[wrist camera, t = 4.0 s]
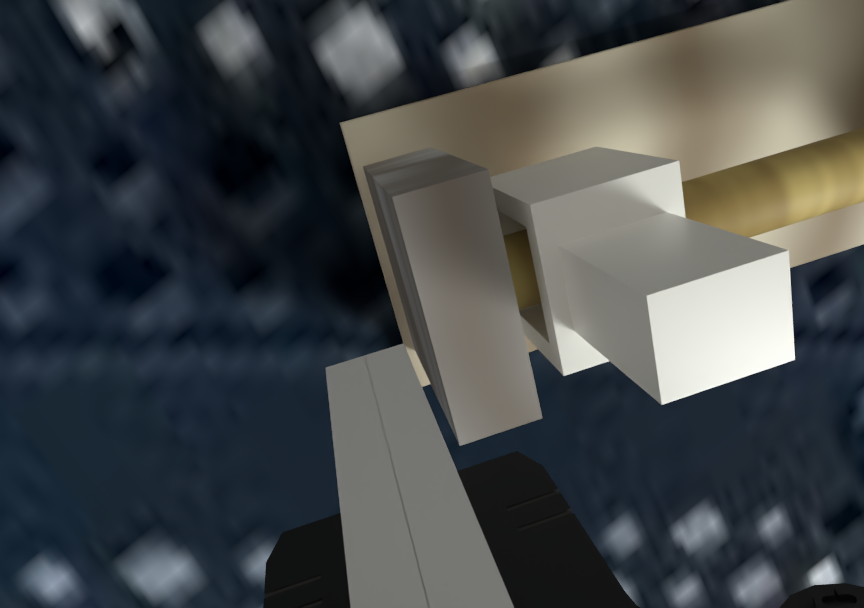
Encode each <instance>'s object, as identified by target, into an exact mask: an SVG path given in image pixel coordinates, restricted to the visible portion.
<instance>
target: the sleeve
mask: <svg viewBox="0 0 864 608" xmlns="http://www.w3.org/2000/svg"><path fill="white" fill-rule="evenodd" d="M490 178H491V183H492V188H493V192H494V197H495V202H496V206H497V211H498V215H499V220H500V225H501V229H502V234H503V236H504V235H508V234H511V233H514V232H518V231H521V230H524V229H527V234H528V239H529V244H530V249H531V254H532V259H533V264H534V269H535V274H536V279H537V283H538V288H539V293H540V298H541V303H540V304H537V305H534V306H531V307H528V308H525V309H521V310H519V312H520V317H521V322H522V326H523V331H524V335H525V336H526V337H527V338H528V339H529V340H530V341H531V342H532V343H533V344H534V345H535V346H536V347H537V348H538V350H539V351H540V352H541V353H542V354H543V355H544V356H545V357H546V358H547V359H548V360H549V361H550V362H551V363H552V364H553V365H554V366H555V367H556V368H557V369H558V370H559V371H560V372H561V373H562V375H563V376H565V375H568V374H571V373H574V372H577V371H581V370H584V369H587V368H590V367H593V366H596V365H599V364H602V363H605V362H608V361H610V362H611V363H613V364H614V365H615V366H616V367H617V368H619V369H620V370H621V371H622V372H623V373H625V374H626V375H627V376H628V377H629V378H630V379H632V380H633V381H634V382H635V383H636V384H638V385H639V386H640V387H641V388H642V389H643V390H645V391H646V392H647V393H648V394H649V395H651V396H652V397H653V398H654V399H655V400H657V401H658V402H659V403H660V404H661V405H663V404H666V403H669V402H672V401H675V400H678V399H681V398H684V397H687V396H690V395H692V394H695V393H698V392H701V391H704V390H707V389H710V388H713V387H716V386H719V385H722V384H725V383H728V382H731V381H734V380H737V379H740V378H742V377H745V376H748V375H751V374H754V373H757V372H760V371H763V370H766V369H769V368H772V367H775V366H778V365H781V364H784V363H787V362H789V361H792V360H795V352H794V334H793V316H792V299H791V281H790V263H789V250H786V249H783V248H780V247H777V246H773V245H770V244H767V243H764V242H761V241H757V240H754V239H751V238H748V237H745V236H742V235H738V234H735V233H732V232H729V231H726V230H722V229H719V228H716V227H713V226H710V225H707V224H703V223H700V222H697V221H694V220H691V219H687V218H686V217H685V208H684V199H683V190H682V181H681V172H680V164H679V160H673V159H667V158H661V157H655V156H649V155H643V154H638V153H632V152H626V151H620V150H614V149H608V148H602V147H592V148H589V149H585V150H582V151H579V152H575V153H572V154H568V155H565V156H561V157H558V158H554V159H551V160H547V161H544V162H541V163H537V164H534V165H530V166H527V167H523V168H520V169H516V170H513V171H510V172H506V173H503V174H499V175H496V176H492V177H490Z"/></svg>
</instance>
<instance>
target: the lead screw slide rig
mask: <svg viewBox="0 0 864 608" xmlns="http://www.w3.org/2000/svg"><path fill="white" fill-rule="evenodd" d="M340 126H341V130H342V133H343V137H344V140H345V144H346V147H347V151H348V154H349V157H350V161H351V164H352V168H353V171H354V175H355V178H356V182H357V185H358V188H359V192H360V195H361V199H362V202H363V206H364V209H365V213H366V216H367V220H368V223H369V226H370V230H371V233H372V237H373V240H374V244H375V247H376V251H377V254H378V258H379V261H380V264H381V268H382V271H383V275H384V278H385V282H386V285H387V289H388V292H389V295H390V299H391V302H392V306H393V309H394V313H395V316H396V320H397V323H398V327H399V330H400V333H401V337H402V340H403V343H404V346H405V348H406V350H407V353H408V355H409V358H410V360H411V362H412V365H413V367H414V370H415V372H416V374H417V377H418V379H419V382H420V384H421V386H422V387H423V386H426V385H429V384H431V386H432V388H433V390H434V392H435V394H436V396H437V398H438V400H439V402H440V405H441V407H442V409H443V411H444V413H445V415H446V417H447V419H448V422H449V424H450V426H451V428H452V430H453V432H454V434H455V436H456V438H457V441H458V443H459V445H460V446H461V445H464V444H467V443H470V442H473V441H476V440H479V439H482V438H485V437H488V436H491V435H494V434H497V433H500V432H503V431H506V430H508V429H511V428H514V427H517V426H520V425H523V424H526V423H529V422H532V421H535V420H538V419H541V418H542V414H541V409H540V405H539V400H538V396H537V391H536V386H535V382H534V377H533V372H532V368H531V363H530V359H529V354H528V352H531V351H534V350H537V349H538V348H537V347H536V346H535V345H534V344H533V343H532V342H531V341H530V340H529V339H528V338H527V337H526V336H525V335H524V331H523V326H522V322H521V317H520V312H519V310H521V309H525V308H528V307H531V306H534V305H537V304H540V303H541V298H540V293H539V288H538V283H537V279H536V274H535V269H534V264H533V259H532V254H531V249H530V244H529V239H528V234H527V229H524V230H521V231H518V232H514V233H511V234H508V235H504V236H503V234H502V229H501V225H500V220H499V215H498V211H497V206H496V202H495V197H494V192H493V188H492V183H491V178H490V177H492V176H496V175H499V174H503V173H506V172H510V171H513V170H516V169H520V168H523V167H527V166H530V165H534V164H537V163H541V162H544V161H547V160H551V159H554V158H558V157H561V156H565V155H568V154H572V153H575V152H579V151H582V150H585V149H589V148H592V147H602V148H608V149H614V150H620V151H626V152H632V153H638V154H643V155H649V156H655V157H661V158H667V159H673V160H679V164H680V172H681V181H682V190H683V199H684V208H685V217H686V218H687V219H691V220H694V221H697V222H700V223H703V224H707V225H710V226H713V227H716V228H719V229H722V230H726V231H729V232H732V233H735V234H738V235H742V236H745V237H748V238H751V239H754V240H757V241H761V242H764V243H767V244H770V245H773V246H777V247H780V248H783V249H786V250H789V263H790V268H791V267H794V266H797V265H800V264H804V263H807V262H810V261H813V260H816V259H819V258H822V257H825V256H828V255H831V254H835V253H838V252H841V251H844V250H847V249H850V248H853V247H856V246H859V245H862V244H864V0H787V1H783V2H780V3H776V4H772V5H769V6H765V7H761V8H758V9H754V10H750V11H747V12H743V13H740V14H736V15H732V16H729V17H725V18H721V19H718V20H714V21H710V22H707V23H703V24H699V25H696V26H692V27H688V28H685V29H681V30H677V31H674V32H670V33H666V34H663V35H659V36H655V37H652V38H648V39H644V40H641V41H637V42H633V43H630V44H626V45H622V46H619V47H615V48H611V49H608V50H604V51H600V52H597V53H593V54H589V55H586V56H582V57H578V58H575V59H571V60H567V61H564V62H560V63H556V64H553V65H549V66H546V67H542V68H538V69H535V70H531V71H527V72H524V73H520V74H516V75H513V76H509V77H505V78H502V79H498V80H494V81H491V82H487V83H483V84H480V85H476V86H472V87H469V88H465V89H461V90H458V91H454V92H450V93H447V94H443V95H439V96H436V97H432V98H428V99H425V100H421V101H417V102H414V103H410V104H406V105H403V106H399V107H395V108H392V109H388V110H384V111H381V112H377V113H373V114H370V115H366V116H363V117H359V118H355V119H352V120H348V121H344V122H341V123H340Z"/></svg>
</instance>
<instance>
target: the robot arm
mask: <svg viewBox="0 0 864 608" xmlns="http://www.w3.org/2000/svg"><path fill="white" fill-rule="evenodd" d="M326 377H327V387H328V396H329V406H330V415H331V425H332V435H333V444H334V454H335V463H336V473H337V482H338V492H339V502H340V511H341V513H339V514H336V515H333V516H330V517H327V518H324V519H321V520H318V521H315V522H312V523H309V524H306V525H303V526H301V527H298V528H295V529H292V530H289V531H286V532H283V533H282V534H281V536H280V538H279V540H278V542H277V544H276V545H275V547H274V549H273V551H272V553H271V555H270V557H269V559H268V560H267V562H266V575H265V591H264V593H265V598H266V599H264V607H263V608H640V607H638V606H637V605H636V604H635V603H634V602H633V601H632V599H631V598H630V597H629V596H628V595H627V594H626V592H625V591H624V590H623V588H622V586H621V585H620V583H619V582H618V580H617V579H616V577H615V576H614V574H613V573H612V571H611V570H610V568H609V567H608V565H607V563H606V562H605V560H604V559H603V557H602V556H601V554H600V553H599V551H598V550H597V548H596V547H595V545H594V543H593V542H592V540H591V539H590V537H589V536H588V534H587V533H586V531H585V530H584V528H583V527H582V525H581V524H580V522H579V520H578V519H577V517H576V516H575V514H573V513H572V511H571V508H570V507H569V505H568V504H567V502H566V500H565V499H564V497H563V496H562V494H560V493H559V491H558V488H557V487H556V485H555V484H554V482H553V481H552V479H551V477H550V476H549V474H548V473H547V471H546V470H545V468H544V467H543V466H542V465H540V464H539V463H537V462H535V461H533V460H532V459H530V458H528V457H526V456H525V455H523V454H521V453H519V452H518V451H516V452H513V453H510V454H507V455H504V456H501V457H498V458H495V459H492V460H489V461H486V462H483V463H480V464H477V465H474V466H471V467H469V468H466V469H463V470H460V471H457V470H456V468H455V465H454V463H453V460H452V458H451V456H450V453H449V451H448V448H447V446H446V444H445V441H444V439H443V436H442V434H441V432H440V429H439V427H438V425H437V422H436V420H435V417H434V415H433V413H432V410H431V408H430V405H429V403H428V401H427V398H426V396H425V393H424V391H423V389H422V386H421V384H420V382H419V379H418V377H417V374H416V372H415V370H414V367H413V365H412V362H411V360H410V358H409V355H408V353H407V350H406V348H405V346H404V343H403V344H400V345H397V346H394V347H391V348H387V349H384V350H381V351H378V352H375V353H371V354H368V355H365V356H362V357H359V358H355V359H352V360H349V361H346V362H343V363H339V364H336V365H333V366H330V367H326ZM780 608H864V587H861V586H856V585H851V584H846V583H842V584H826V585H814V586H811V587H809V588H807V589H804V590H802V591H800V592H797V593H795V594H792V595H790V596H789V598H788V599H787V600H786V601H785V602H784V603H783V605H782V606H781V607H780Z"/></svg>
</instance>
